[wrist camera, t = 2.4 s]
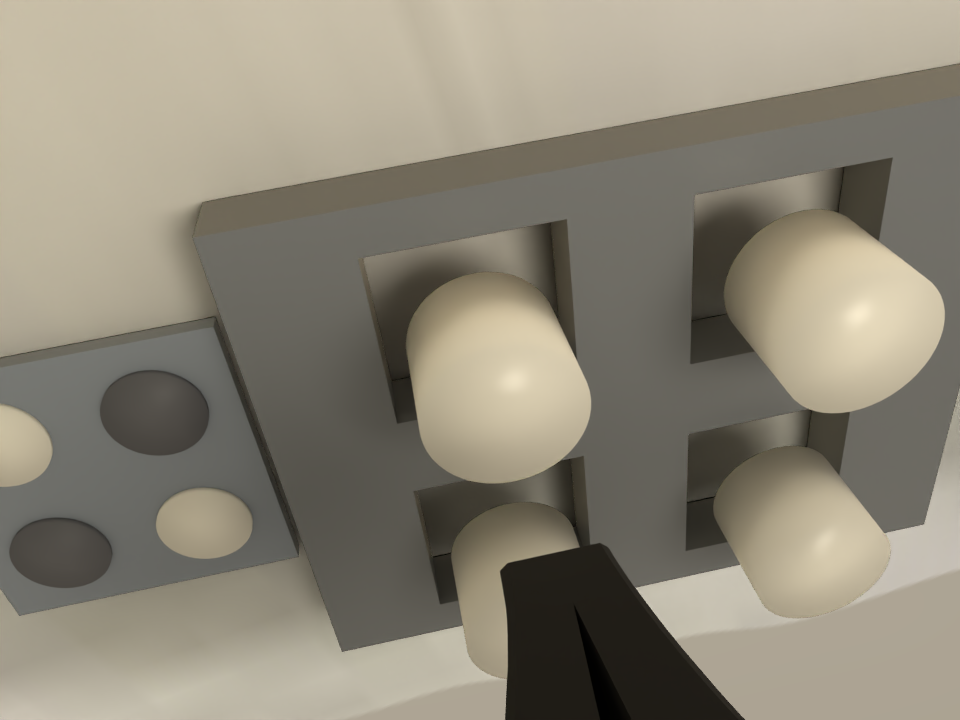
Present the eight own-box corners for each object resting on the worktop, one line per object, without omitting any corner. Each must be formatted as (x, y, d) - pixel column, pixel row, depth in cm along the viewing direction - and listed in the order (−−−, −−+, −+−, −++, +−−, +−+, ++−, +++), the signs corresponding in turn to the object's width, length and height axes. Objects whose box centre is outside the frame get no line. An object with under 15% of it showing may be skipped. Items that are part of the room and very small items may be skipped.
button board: (983, 59, 17) (1039, 81, 16) (890, 484, 24) (924, 524, 22) (202, 202, 16) (192, 237, 15) (340, 602, 23) (342, 652, 21)
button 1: (571, 490, 19) (602, 573, 17) (578, 577, 21) (607, 662, 19) (441, 517, 19) (457, 605, 17) (460, 602, 20) (476, 692, 18)
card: (215, 317, 17) (212, 330, 17) (299, 545, 21) (298, 561, 21) (-127, 382, 17) (-139, 398, 16) (24, 602, 21) (17, 620, 20)
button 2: (551, 258, 15) (586, 327, 13) (561, 385, 17) (595, 464, 15) (392, 288, 15) (404, 363, 13) (419, 414, 17) (434, 497, 15)
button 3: (839, 434, 19) (901, 509, 17) (824, 523, 21) (879, 602, 19) (715, 460, 19) (763, 539, 17) (711, 548, 21) (754, 629, 19)
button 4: (877, 196, 16) (960, 254, 14) (856, 326, 18) (927, 395, 15) (727, 225, 16) (788, 288, 14) (720, 353, 17) (774, 427, 15)
